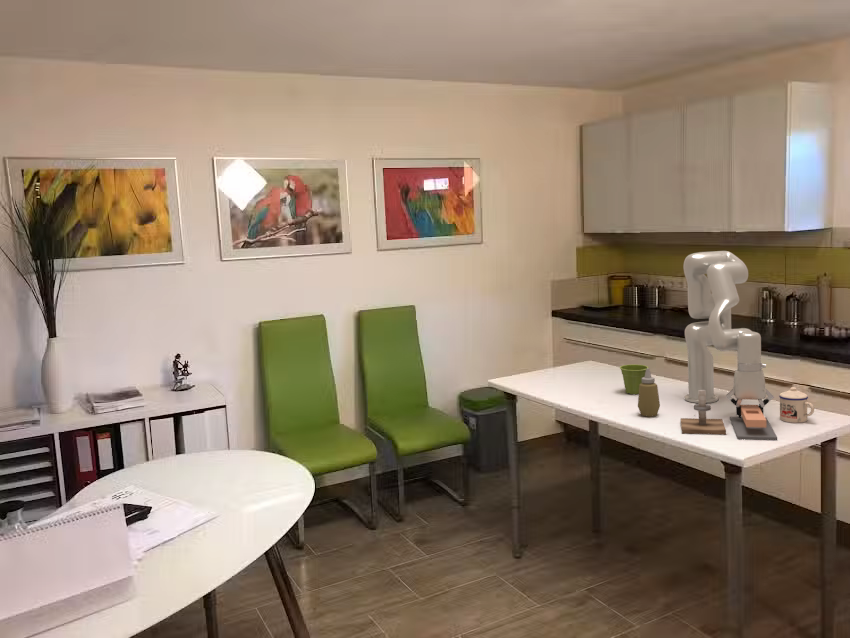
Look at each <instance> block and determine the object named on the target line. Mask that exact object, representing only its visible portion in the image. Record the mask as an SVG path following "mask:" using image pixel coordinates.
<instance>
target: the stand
mask: <svg viewBox="0 0 850 638" xmlns="http://www.w3.org/2000/svg"><path fill="white" fill-rule="evenodd" d="M693 410H694V411H697V412H698V418H693V417H691V418H688V417H687V418H686V417H685V418H684V417H680V427H681V434H684V435H686V434H687V435H723V436H725V435H727V429H726V426H725V423H724V420H723V418H707V412H709V411H711V410H712V407H711V405H710V404H708V403H706V391H705V390H698V403H695V404H694V405H693Z"/></svg>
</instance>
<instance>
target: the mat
mask: <svg viewBox="0 0 850 638" xmlns="http://www.w3.org/2000/svg"><path fill="white" fill-rule="evenodd" d="M764 417H765V416H764ZM765 419H766V428H765V427H746V425H745V422H744V420H743V418H742V416H741V418H739V417H738V416H729V421H730V423H731V426H732V429H733V432H734V434H735V436H736V439H737V440H742V439H743V440H744V439H745V441H746V440H747V441H748V440H749V441H751V440H752V441H778V436H777V434H776V432H775V430H774V429H773V427H772V425H771V423H770V422H769V420H768V417H765Z"/></svg>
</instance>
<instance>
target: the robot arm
mask: <svg viewBox="0 0 850 638" xmlns="http://www.w3.org/2000/svg"><path fill="white" fill-rule="evenodd" d="M683 273H684V277H685V279H686V284H687V308H688V314H689V316H690V318H692V319H695V320H699V319H704V320H705V319H708V320H705V321H698V322H692V323H690V324H688V325H687V326H686V327H685V329H684V338H685V343H686V348H687V349H686V350H687V375H688V376H687V378H688V379H687V380H688V381H687V382H688V394H686V395H685V396H684V400H685V401H686V402H689V403H694V404H698V390H705V391H706V404H711V403H715V402H717V401H719V396H718V395H715V389H714V388H715V387H714V385H715V381H714V375H715V374H714V355H713V353H712V351H711V350H710V349H709V348H708V346H713V347H714V348H715V349H716V350H718V351H721V352H722V351H723V352H725V351H727V352H728V351H736V352H737V354H736V357H737V369H735V371H734V376H733V388H732V389H731V390H730V391H729V392H727V394H725V398H726V399H727V400H729V401H730V402H731V403H732V404H733V405H734V406H735V413H736V414H735V415H736V416H737V417H739V418H741V417H742V416H741V406H740V405H742V401H743V400H746V401H747V400H750V401H751V400H756V401H758V403H759V404H758V406H759V408H760V410H761V411H762V413H763V415H764V416H765V414H764V410H765V409H764V407H765V406H766V405H767V404H768V403H770V402H771V401H772V399H774V398H775V396H774V394H773V393H771V392H770V391H769V390H768V389H767V388H766V380H765V378H766V377H765V372H764V370H762V369H764V368H766V366H767V364H766V363H762V337H761V334H760V333H759V332H756V331H753V330H751V329H750V328H745V327H741V328H732V308H734V307H735V306H737V305H738V304H739V303H740V296H739V293H738V290H737V287H736V284H737V285H739V284H744V283H746V282H747V281H748V278H749V269H748V267H747V265H746V264H745V262H744V261H743V260H742V259H740V258H739V257H738V256H737V255H735V254H734V253H732V252H730V251H727V250H717V251H715V250H714V251H699V252H694V253H690V254H688V255H687V256H686V257H685V259H684V261H683ZM733 396H734V397H735V398H734V397H733ZM766 396H767V397H766Z"/></svg>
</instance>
